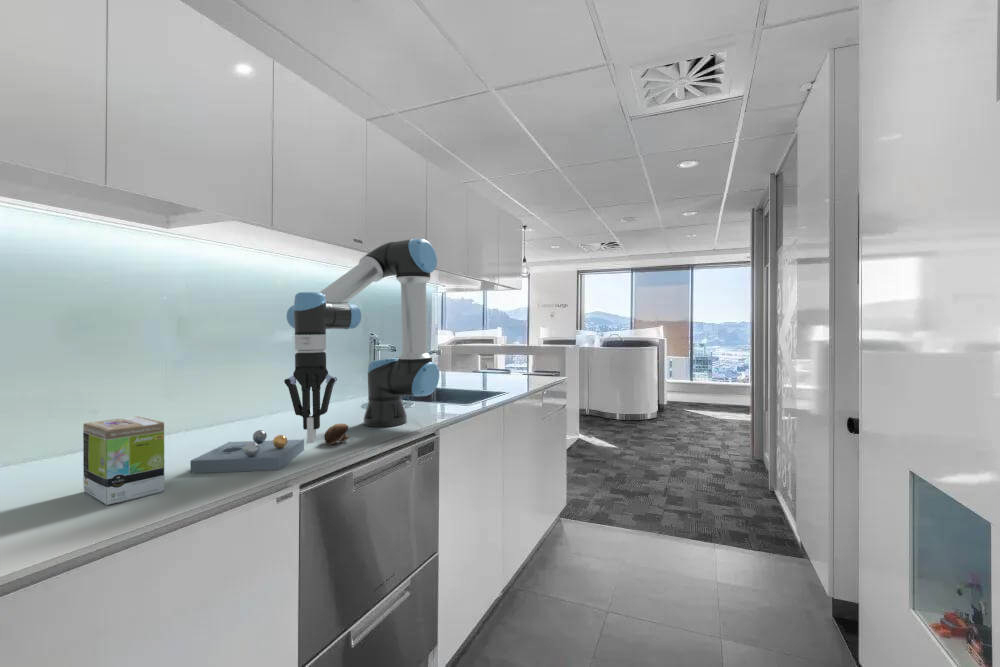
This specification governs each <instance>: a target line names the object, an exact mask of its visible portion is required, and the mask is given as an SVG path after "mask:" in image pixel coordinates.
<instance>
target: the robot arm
mask: <svg viewBox="0 0 1000 667" xmlns="http://www.w3.org/2000/svg"><path fill="white" fill-rule="evenodd" d="M437 264H438V257H437V253H436V251H435V249H434V247H433V245H432V244H431V242H429V241H428V240H426V239H424V238H411V239H405V240H399V241H398V240H397V241H390V242H386V243H384V244H381V245H380V246H378V247H376V248H374V249H373V250H371V251H370V252H368V253H367V254H365V255H364V256H363V257H361V258H360V259H359V261H358V263H357V265H355V266H353V267H352V268H351V269H349V270H348V271H347V272H346V273H344V274H343V275H341V276H340V277H339V278H337V279H335V281H333V282H332V283H330V284H329V285H327V286H326V287H325V288H323V289H322V290H321V291H319V292H313V291H303V292H297V293H296V294H295V295H294V304H293V305H291V306H290V307H289V308H288V309H287V312H286V321H287V323H288V325H289V326H290V327H291V328H293V329H294V351H296V352H295V354H294V371H293V375H291V376H290V377H288V378H285V379H284V380H283V382H284V384H285V385H286V386H287V388H288V391H289V395H290V399H291V403H292V407H293V411H294V414H295V415H296V416H300V417H302V423H303V424H302V428H303V430H304V431H305V430H306V442H307V444H313V443H315V442H316V441H317V430H319V429H320V427H321V416H322V415H325V414H326V413H327V412H328V409H329V406H330V401H331V397H332V392H333V388H334V385H335V384H336V382H337V381H338V378H337V376H335V377H334V376H333V375H331V374H329V372H328V369H327V353H326V350H327V337H326V335H327V330H350V329H352V330H353V329H355V328H357V327H358V326H359V325H360V324H361V321H362V310H361V309H360V307H359V306H358V305H357V304H355V303H352V302H350V301H351V300H352V299H354V297H356V296H357V295H358V294H359V293H361V292H362V291H364V289H366V288H367V287H369V286H370V285H371V284H372V283H374V282H375V283H376V282H379V281H381V280H382V279H384V278H386V277H390V276H395V277H396V280H397V281H398V282H399V283H400V300H401V301H400V303H401V306H400V307H401V341H402V344H401V345H402V348H401V349H402V353H401V354H400V355H399V356H398V357H392V358H391V357H390V358H384V359H376V360H372V361H370V362H369V363H368V369H367V385H368V386H367V388H368V389H367V390H368V394H367V395H368V403H367V406H366V409H365V413H364V416H363V425H364V426H367V427H374V428H375V427H376V428H377V427H378V428H379V427H381V428H382V427H384V428H385V427H394V426H398V425H403V424H405V423H407V422H408V420H407V419H408V418H407V417H408V416H407V412H406V410H405V407H404V404H403V400H402V397H403V396H412V397H415V398H416V397H427V396H429V395H431V394H432V393H433V392H435V390H436V389H437V386H438V385H439V380H440V369H439V367H438V365H437V364H436V363H434V362H433V356H432V355H431V354H430V353H429V352H428V318H427V316H428V315H427V314H428V312H427V308H428V306H427V283H428V282H429V281H430V280H431V273H433V272H434V271H435V270H436V267H437ZM324 381H325V383H326V386H325V388H324V393H323V397H322V402H321V385H322V384H323V383H324ZM297 382H298V384H299V385H300V386H301V387H300V388H301V398H302V399H301V398H300V394H299V390H298V387H297V384H296V383H297ZM311 391H312V392H311ZM311 393H312V396H311ZM311 397H312V412H311ZM301 400H302V401H301ZM311 414H312V415H311Z"/></svg>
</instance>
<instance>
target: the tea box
mask: <svg viewBox="0 0 1000 667" xmlns="http://www.w3.org/2000/svg"><path fill="white" fill-rule="evenodd" d="M82 428H83V429H82V430H83V433H82V434H83V435H82V437H83V438H82V440H83V442H82V444H83V449H82V450H83V453H82V454H83V455H82V456H83V458H82V459H83V463H82V465H83V478H82V479H83V480H82V481H83V483H82V484H83V491H84V492H85V493H87V494H89V495H90V496H91V497H93V498H95V499H97V500H99V502H101V503H103V504H104V505H107V506H108V505H113V504H118V503H122V502H127V501H131V500H135V499H138V498H142V497H147V496H151V495H154V494H158V493H161V492H164V490H165V477H166V476H165V422H163V421H160V420H155V419H151V418H146V417H142V416H132V417H131V416H130V417H124V418H123V417H122V418H115V419H114V418H113V419H107V420H99V421H91V422H84V423H83V426H82Z"/></svg>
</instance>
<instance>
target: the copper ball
mask: <svg viewBox="0 0 1000 667" xmlns="http://www.w3.org/2000/svg"><path fill="white" fill-rule="evenodd" d="M287 440H288V438H287V437H286V436H285V435H283V434H278V435H276V436H275V437H274V438H273V445H274V446H275V447H276V448H283V447H285V446H286V444H287Z"/></svg>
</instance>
